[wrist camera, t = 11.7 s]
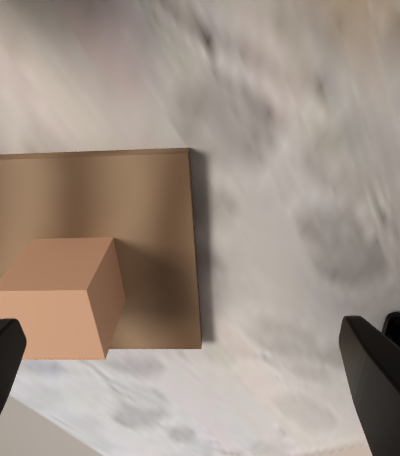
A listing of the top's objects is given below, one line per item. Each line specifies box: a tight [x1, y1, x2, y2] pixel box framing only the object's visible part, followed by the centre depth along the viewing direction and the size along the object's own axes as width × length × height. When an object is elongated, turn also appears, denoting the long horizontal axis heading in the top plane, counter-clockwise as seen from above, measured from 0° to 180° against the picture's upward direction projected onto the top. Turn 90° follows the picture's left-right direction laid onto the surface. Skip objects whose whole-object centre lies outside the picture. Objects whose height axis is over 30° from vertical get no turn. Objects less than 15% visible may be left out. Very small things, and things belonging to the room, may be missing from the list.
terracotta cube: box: [0, 237, 126, 360], centre depth 20 cm, size 5×5×5 cm
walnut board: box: [0, 148, 202, 349], centre depth 23 cm, size 15×15×1 cm
